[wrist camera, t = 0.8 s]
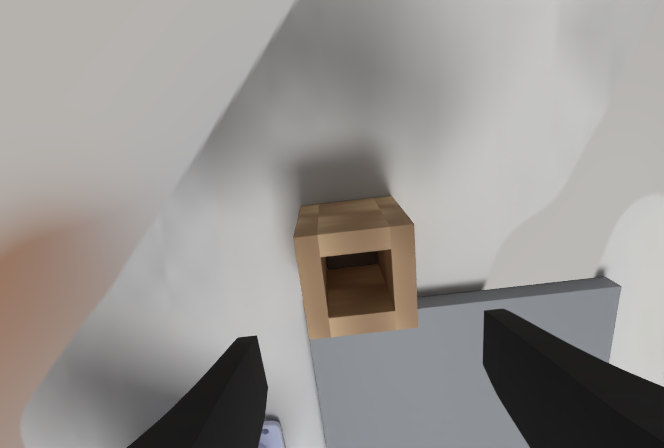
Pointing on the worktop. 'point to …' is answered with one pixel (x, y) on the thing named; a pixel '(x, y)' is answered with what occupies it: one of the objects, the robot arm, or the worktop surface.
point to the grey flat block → (447, 367)
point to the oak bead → (362, 281)
